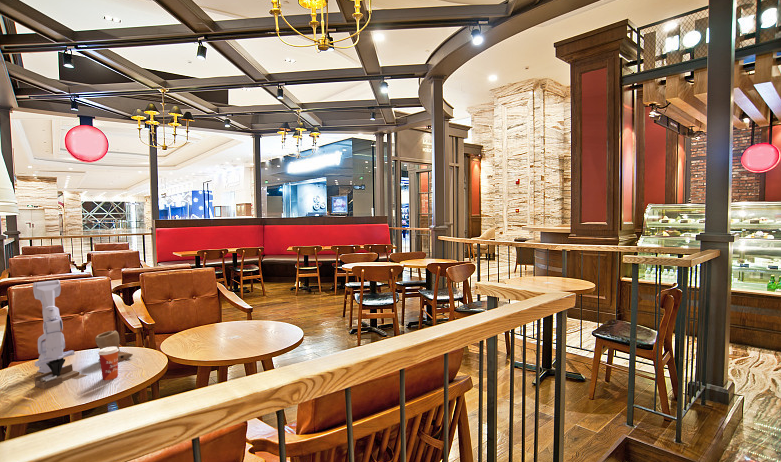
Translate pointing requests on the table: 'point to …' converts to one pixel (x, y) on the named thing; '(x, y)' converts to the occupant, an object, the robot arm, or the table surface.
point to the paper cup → (109, 362)
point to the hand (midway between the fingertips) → (56, 375)
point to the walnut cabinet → (64, 375)
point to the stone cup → (111, 343)
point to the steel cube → (48, 378)
